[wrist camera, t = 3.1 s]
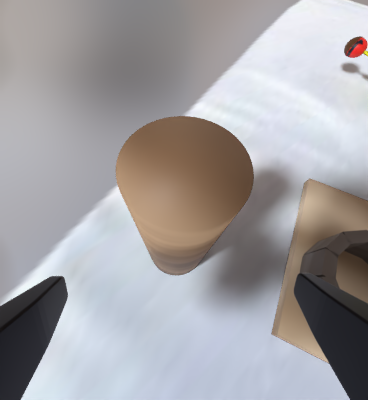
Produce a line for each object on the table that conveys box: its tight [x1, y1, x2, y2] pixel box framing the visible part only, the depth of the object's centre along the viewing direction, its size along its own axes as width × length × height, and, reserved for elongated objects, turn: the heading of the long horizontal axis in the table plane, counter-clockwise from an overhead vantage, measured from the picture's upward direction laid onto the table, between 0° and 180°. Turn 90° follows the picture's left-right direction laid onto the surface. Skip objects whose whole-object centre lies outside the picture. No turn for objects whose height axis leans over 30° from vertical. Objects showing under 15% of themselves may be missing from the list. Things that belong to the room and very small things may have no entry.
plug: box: [116, 116, 254, 275], centre depth 13 cm, size 5×5×13 cm
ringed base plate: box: [272, 179, 368, 363], centre depth 17 cm, size 16×10×4 cm, turn 155°
